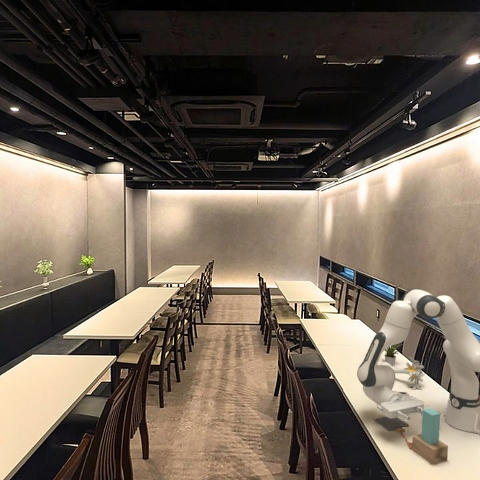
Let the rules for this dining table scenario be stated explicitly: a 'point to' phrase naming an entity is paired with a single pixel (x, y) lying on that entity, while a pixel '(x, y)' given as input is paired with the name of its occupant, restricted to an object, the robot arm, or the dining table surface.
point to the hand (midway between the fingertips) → (417, 416)
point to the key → (404, 437)
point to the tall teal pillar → (430, 426)
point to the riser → (429, 450)
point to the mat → (391, 423)
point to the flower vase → (410, 372)
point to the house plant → (391, 355)
